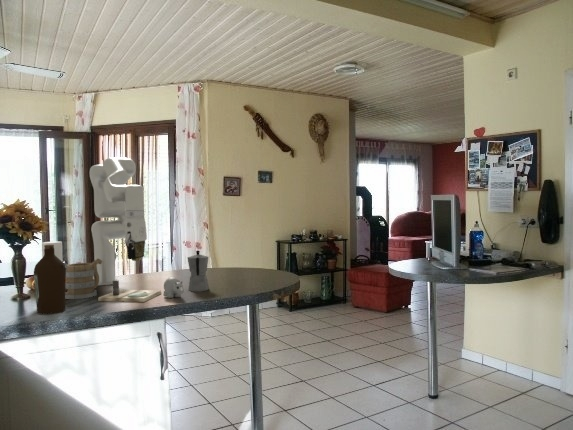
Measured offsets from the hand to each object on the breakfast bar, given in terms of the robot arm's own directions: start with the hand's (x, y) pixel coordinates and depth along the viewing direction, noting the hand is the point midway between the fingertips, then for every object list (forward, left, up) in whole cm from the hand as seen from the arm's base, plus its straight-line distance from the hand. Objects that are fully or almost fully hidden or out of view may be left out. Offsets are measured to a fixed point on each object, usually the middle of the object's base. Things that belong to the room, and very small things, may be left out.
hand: (136, 257), depth 185 cm
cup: (0, 0, -2) cm, 2 cm away
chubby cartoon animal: (+15, +3, -18) cm, 24 cm away
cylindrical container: (-30, -12, -18) cm, 36 cm away
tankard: (-28, +7, -18) cm, 34 cm away
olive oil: (-23, -23, -18) cm, 37 cm away
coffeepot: (+19, +20, -18) cm, 33 cm away
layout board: (-5, +3, -17) cm, 18 cm away
